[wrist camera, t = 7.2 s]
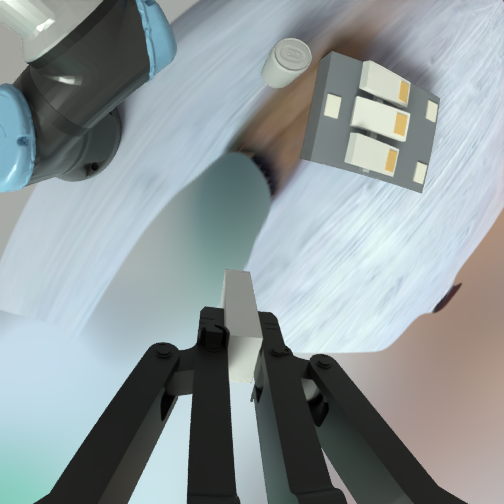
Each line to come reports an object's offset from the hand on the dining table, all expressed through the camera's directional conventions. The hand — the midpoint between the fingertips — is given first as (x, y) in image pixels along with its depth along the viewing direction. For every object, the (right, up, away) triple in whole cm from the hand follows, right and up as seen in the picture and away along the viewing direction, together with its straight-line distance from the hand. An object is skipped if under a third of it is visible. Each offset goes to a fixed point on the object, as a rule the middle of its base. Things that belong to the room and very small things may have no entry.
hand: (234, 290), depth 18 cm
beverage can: (+5, +29, +22) cm, 37 cm away
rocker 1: (+20, +26, +15) cm, 36 cm away
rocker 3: (+18, +16, +19) cm, 30 cm away
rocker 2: (+19, +21, +17) cm, 33 cm away
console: (+20, +23, +25) cm, 40 cm away
